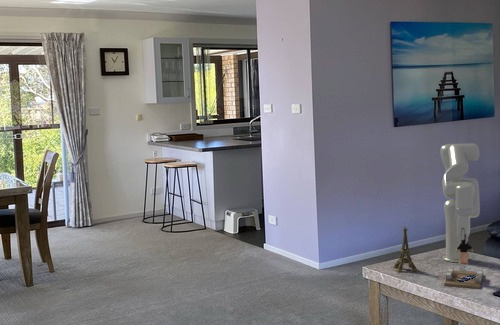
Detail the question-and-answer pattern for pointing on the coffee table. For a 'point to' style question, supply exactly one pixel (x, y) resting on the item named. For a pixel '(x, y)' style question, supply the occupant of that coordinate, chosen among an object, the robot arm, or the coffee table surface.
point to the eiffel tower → (402, 258)
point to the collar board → (454, 275)
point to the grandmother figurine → (464, 254)
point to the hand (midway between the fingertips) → (464, 250)
